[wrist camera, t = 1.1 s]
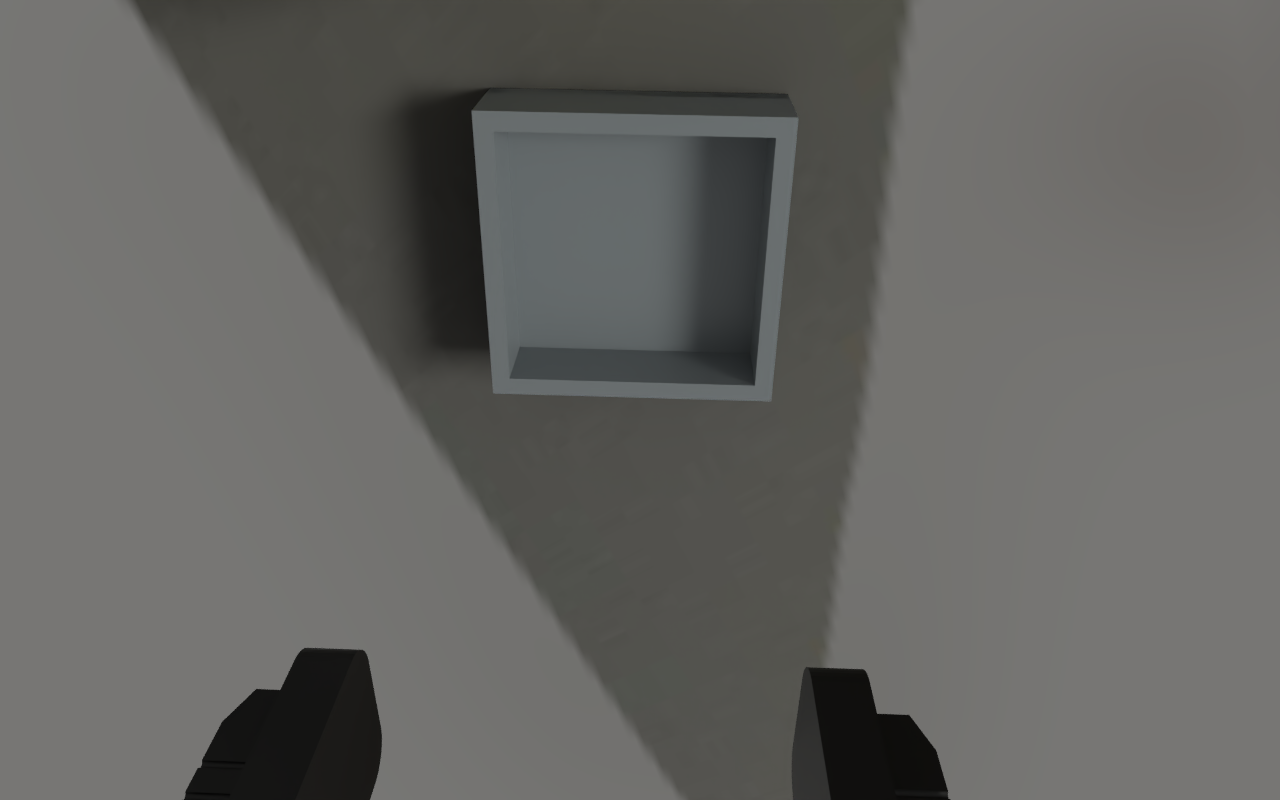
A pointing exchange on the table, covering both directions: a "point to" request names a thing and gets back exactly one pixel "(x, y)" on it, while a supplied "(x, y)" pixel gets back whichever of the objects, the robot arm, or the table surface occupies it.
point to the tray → (634, 240)
